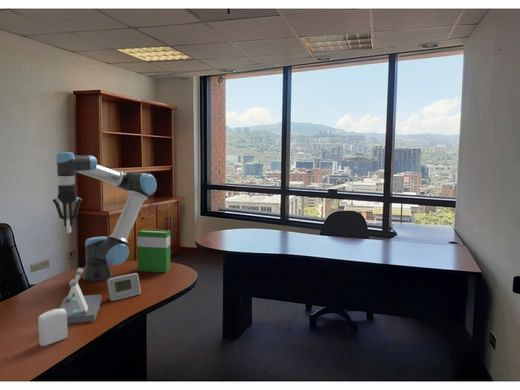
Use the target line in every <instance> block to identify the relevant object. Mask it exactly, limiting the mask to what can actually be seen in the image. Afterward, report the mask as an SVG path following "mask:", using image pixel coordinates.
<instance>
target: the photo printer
mask: <svg viewBox="0 0 520 390" xmlns="http://www.w3.org/2000/svg"><path fill="white" fill-rule="evenodd" d="M37 323H38V337H39V341H38V342H39V345H40V346H41V347H46V346H48V345H51V344H54V343H56V342H60V341H62V340H65V339H67V338H68V336H69V335H68V330H69V329H68V323H67V313H66V310H65V309H59V308H54V309H50V310H48V311H46V312H43V313H42V314H40V315H38V317H37Z"/></svg>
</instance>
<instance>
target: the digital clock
mask: <svg viewBox="0 0 520 390" xmlns="http://www.w3.org/2000/svg"><path fill="white" fill-rule="evenodd" d="M106 283H107V290H108V296H109V301H111V302H114V301H120V300H125V299H128V298H133V297H135V296H139V295H141V293H142V290H141V284H140V279H139V273H137V272H135V273H128V274H123V275H118V276H115V277H111V278H109V279H107V280H106Z"/></svg>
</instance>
